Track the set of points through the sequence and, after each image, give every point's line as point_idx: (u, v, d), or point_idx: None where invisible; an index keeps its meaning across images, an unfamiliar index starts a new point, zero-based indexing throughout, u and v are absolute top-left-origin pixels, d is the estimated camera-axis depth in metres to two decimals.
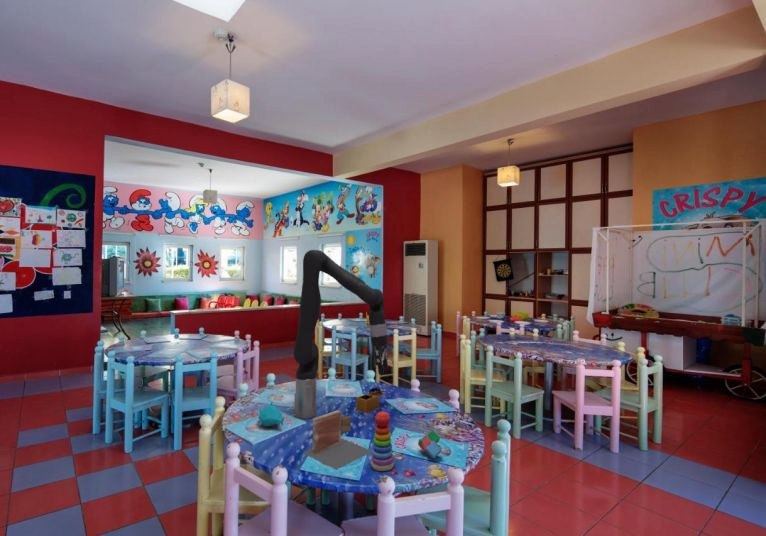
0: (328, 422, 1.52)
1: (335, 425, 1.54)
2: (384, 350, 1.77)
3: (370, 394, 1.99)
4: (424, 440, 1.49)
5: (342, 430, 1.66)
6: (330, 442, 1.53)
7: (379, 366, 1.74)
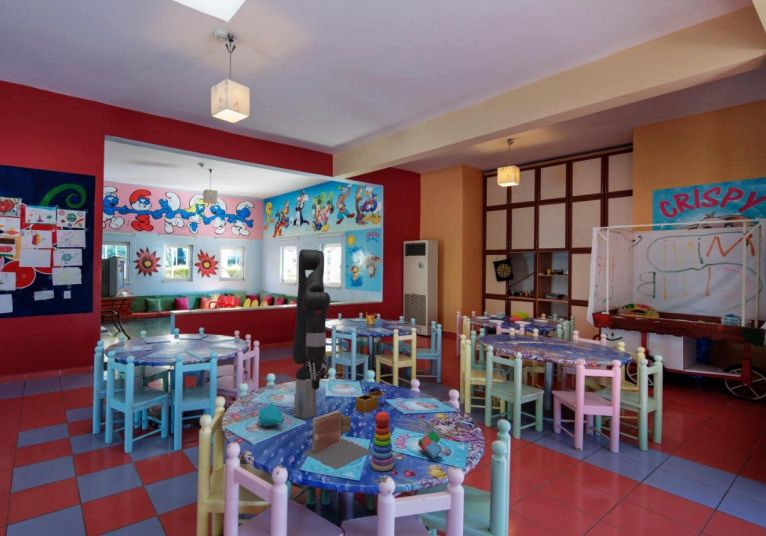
0: (328, 422, 1.52)
1: (335, 425, 1.54)
2: (309, 362, 1.57)
3: None
4: (424, 440, 1.49)
5: (342, 430, 1.66)
6: (330, 442, 1.53)
7: None
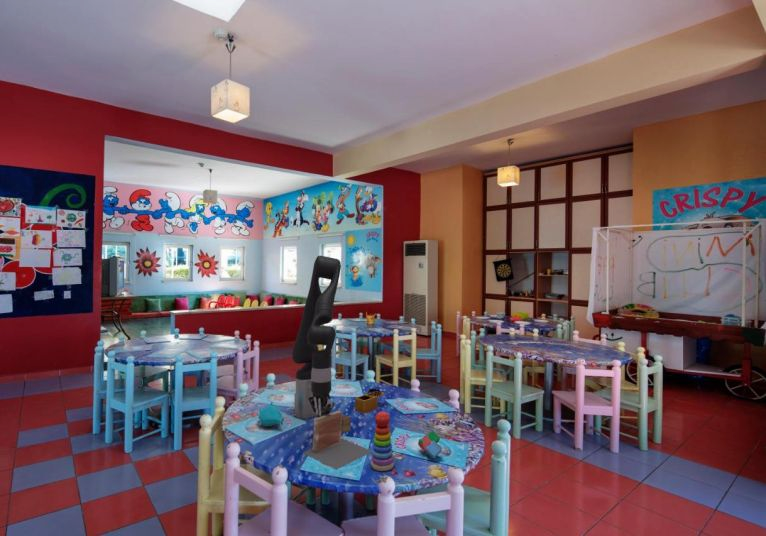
0: (329, 422, 1.51)
1: (336, 425, 1.54)
2: (314, 397, 1.54)
3: (369, 395, 1.98)
4: (424, 440, 1.49)
5: (342, 430, 1.66)
6: (330, 442, 1.53)
7: None
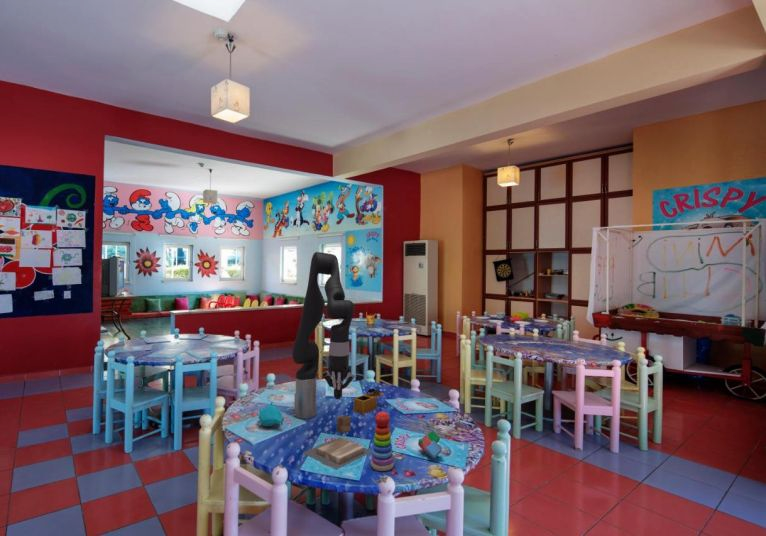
0: None
1: None
2: (332, 372, 1.53)
3: (368, 395, 1.97)
4: (424, 440, 1.49)
5: (342, 430, 1.66)
6: None
7: None
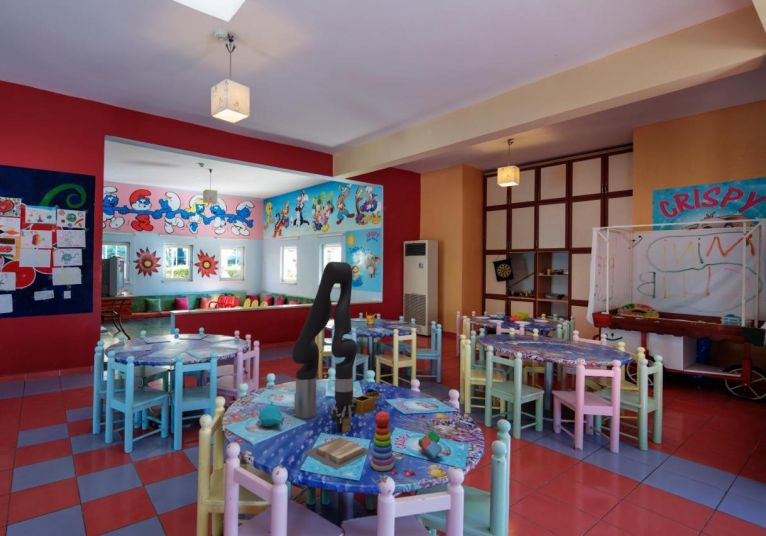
0: None
1: None
2: (344, 407, 1.66)
3: None
4: (424, 440, 1.49)
5: (342, 430, 1.66)
6: None
7: (337, 423, 1.66)
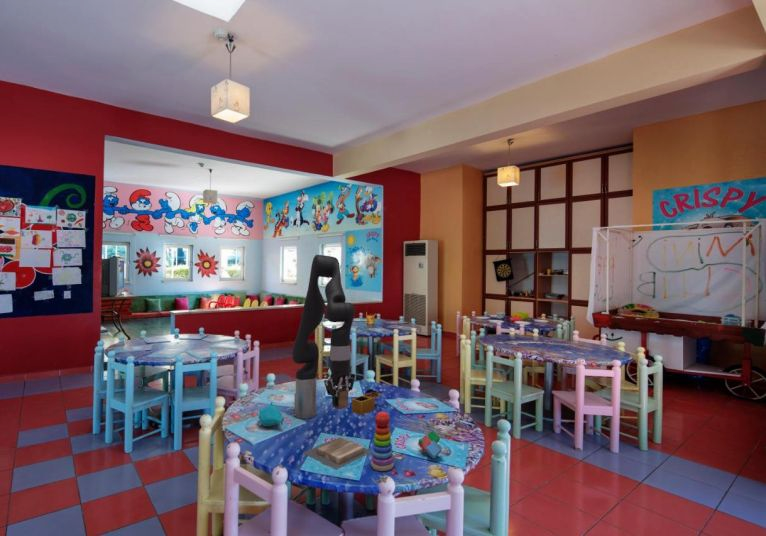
0: None
1: None
2: (341, 378, 1.47)
3: (366, 395, 1.96)
4: (424, 440, 1.49)
5: (339, 404, 1.47)
6: None
7: (333, 397, 1.47)
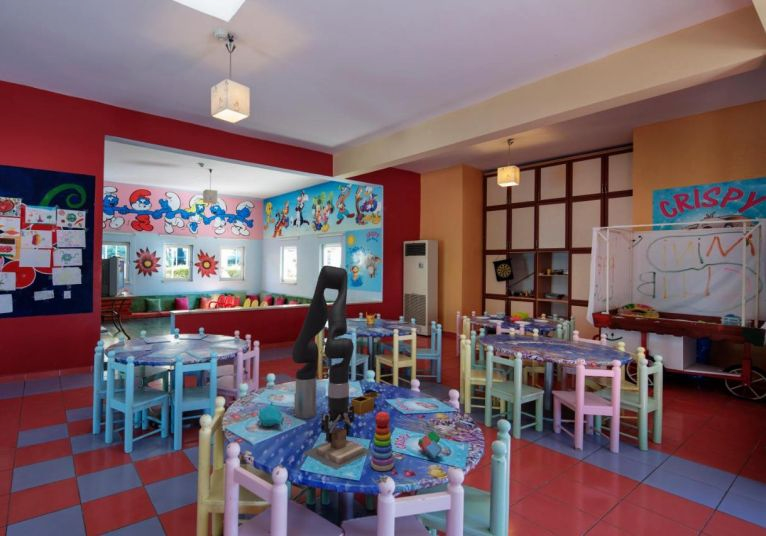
0: None
1: None
2: (339, 415, 1.46)
3: (365, 396, 1.96)
4: (424, 440, 1.49)
5: (337, 445, 1.46)
6: None
7: (326, 433, 1.45)
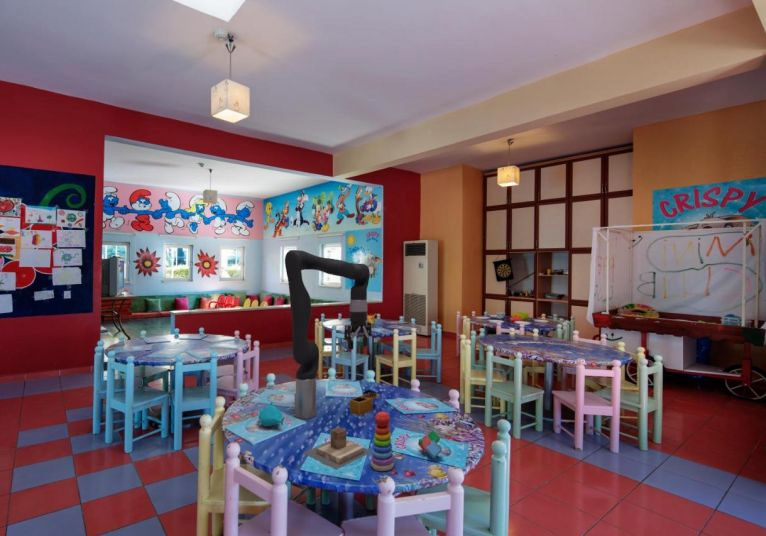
0: None
1: None
2: (359, 327, 1.74)
3: (364, 396, 1.95)
4: (424, 440, 1.49)
5: (337, 445, 1.46)
6: None
7: (349, 341, 1.72)
